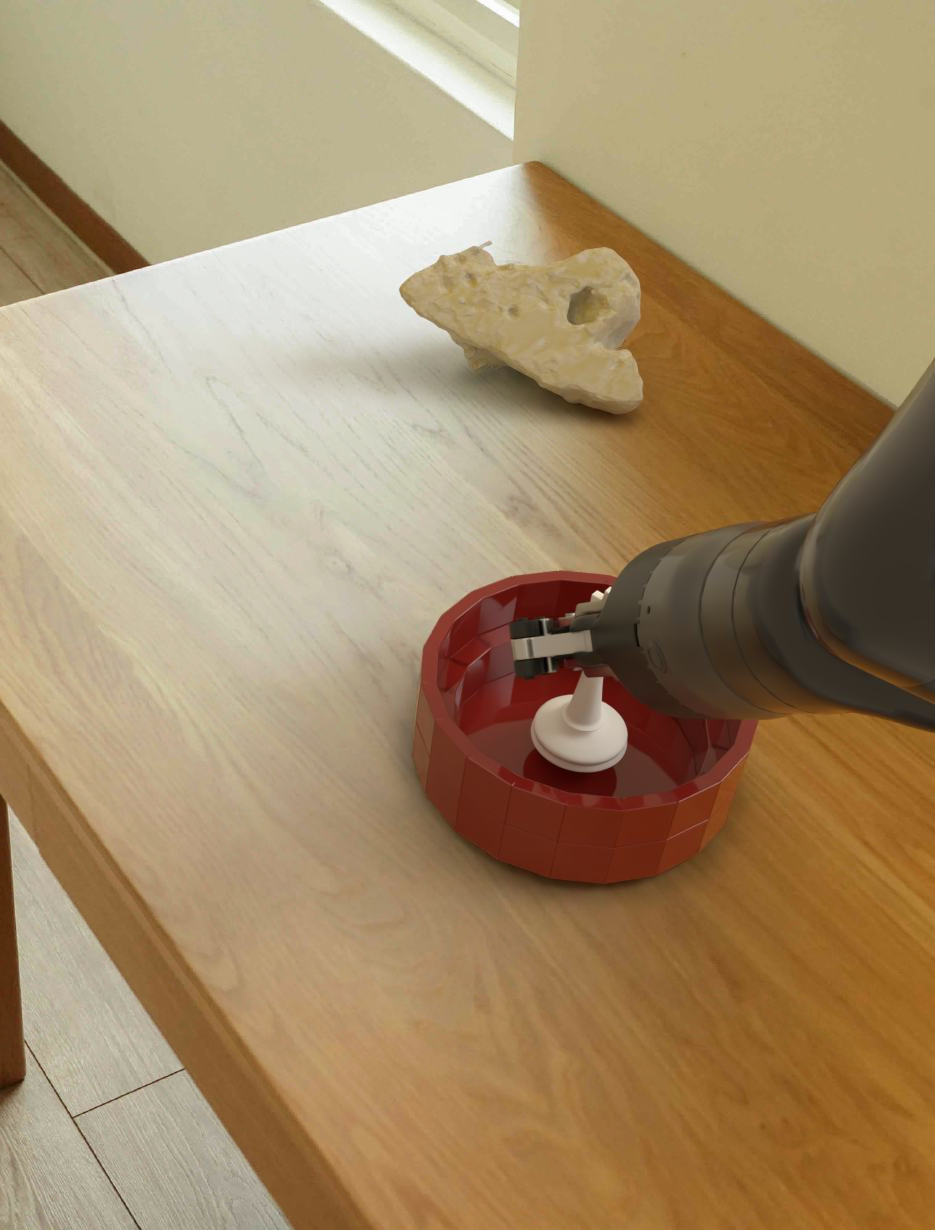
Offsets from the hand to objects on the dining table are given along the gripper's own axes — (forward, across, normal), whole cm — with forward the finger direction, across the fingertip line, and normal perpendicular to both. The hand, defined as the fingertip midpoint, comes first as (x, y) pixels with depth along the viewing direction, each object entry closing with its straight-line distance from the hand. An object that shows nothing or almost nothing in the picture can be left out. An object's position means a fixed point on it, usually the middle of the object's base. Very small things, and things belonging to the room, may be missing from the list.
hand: (579, 640), depth 77 cm
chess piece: (+2, 0, +5) cm, 6 cm away
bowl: (+4, 0, +6) cm, 7 cm away
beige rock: (+28, -8, -18) cm, 34 cm away
